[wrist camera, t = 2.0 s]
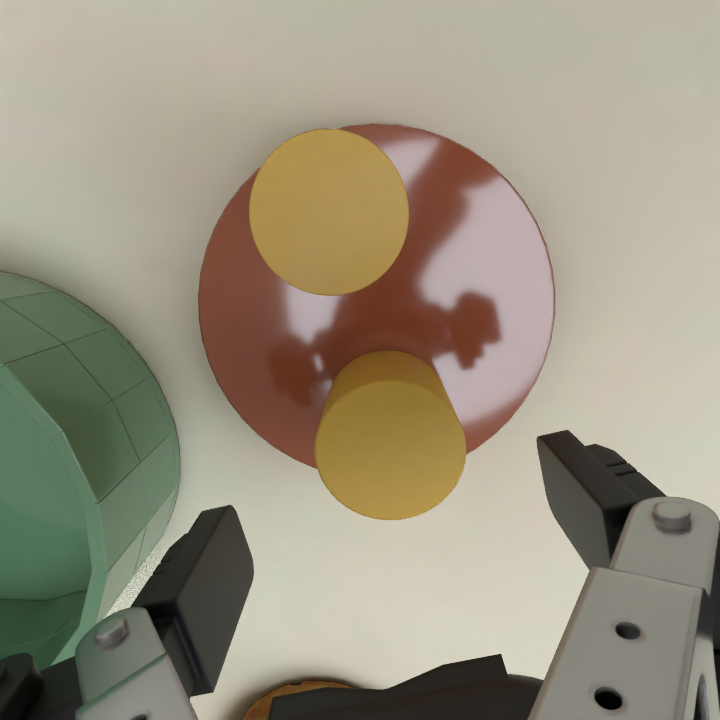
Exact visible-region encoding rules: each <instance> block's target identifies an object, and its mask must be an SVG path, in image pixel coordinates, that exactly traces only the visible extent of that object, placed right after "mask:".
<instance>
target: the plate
mask: <svg viewBox="0 0 720 720" xmlns="http://www.w3.org/2000/svg"><path fill="white" fill-rule="evenodd" d="M338 129H339V130H344V131H349V132H351V133H354V134H357V135H360V136H361V137H363V138H365V139H367V140H369V141H370V142H372V143H373V144H375V145H376V146H377V147H379V148H380V149H381V150H382V151H383V152H384V153H385V154H386V155H387V156H388V158H389V159H390V160H391V161H392V162H393V164H394V165H395V167H396V169H397V170H398V172H399V174H400V176H401V178H402V180H403V183H404V186H405V189H406V193H407V198H408V204H409V221H408V229H407V234H406V238H405V241H404V244H403V246H402V248H401V250H400V253H399V255H398V256H397V258H396V259H395V261H394V263H393V264H392V265H391V266H390V268H389V269H388V270H387V271H386V272H385V273H384V274H383V275H382V276H381V277H380V278H379V279H377V280H376V281H375V282H373V283H372V284H370V285H368V286H367V287H365V288H363V289H361V290H358V291H355V292H352V293H349V294H344V295H336V296H324V295H317V294H311V293H308V292H305V291H302V290H300V289H298V288H295V287H293V286H291V285H290V284H288V283H287V282H285V281H284V280H282V279H281V278H280V277H279V276H278V275H277V274H275V273H274V271H273V270H272V269H271V268H270V267H269V266H268V265H267V263H266V262H265V261H264V259H263V258H262V256H261V254H260V252H259V251H258V249H257V246H256V244H255V241H254V239H253V235H252V231H251V227H250V220H249V203H250V195H251V191H252V187H253V184H254V181H255V178H256V176H257V174H258V172H259V170H260V168H261V167H262V166H261V167H260V168H258V169H257V170H256V171H255V172H254V173H253V174H252V175H251V176H250V177H249V179H248V180H247V181H246V182H245V183H244V184H243V185H242V186H241V187H240V188H239V189H238V191H237V192H236V193H235V195H234V196H233V197H232V199H231V200H230V202H229V203H228V204H227V206H226V207H225V209H224V211H223V213H222V214H221V216H220V218H219V220H218V222H217V224H216V225H215V227H214V230H213V232H212V235H211V238H210V240H209V243H208V245H207V248H206V251H205V256H204V260H203V264H202V268H201V272H200V282H199V292H198V308H199V323H200V329H201V335H202V341H203V345H204V348H205V351H206V355H207V358H208V361H209V364H210V366H211V369H212V371H213V373H214V375H215V378H216V380H217V382H218V384H219V386H220V388H221V389H222V391H223V393H224V394H225V396H226V398H227V399H228V401H229V402H230V404H231V405H232V406H233V408H234V409H235V410H236V411H237V413H238V414H239V415H240V416H241V418H242V419H243V420H244V421H245V422H246V423H247V424H248V425H249V426H250V427H251V428H252V429H253V430H254V431H255V432H256V433H257V434H258V435H259V436H261V437H262V438H263V439H264V440H266V441H267V442H268V443H270V444H271V445H272V446H273V447H275V448H276V449H278V450H280V451H281V452H283V453H285V454H286V455H288V456H290V457H291V458H293V459H295V460H297V461H299V462H302V463H304V464H306V465H308V466H311V467H313V468H316V469H317V465H316V461H315V439H316V434H317V430H318V427H319V424H320V421H321V417H322V414H323V411H324V407H325V404H326V401H327V397H328V394H329V391H330V388H331V386H332V384H333V382H334V380H335V378H336V377H337V375H338V374H339V373H340V371H341V370H342V369H343V368H344V367H345V366H346V365H348V364H349V363H350V362H352V361H353V360H355V359H356V358H358V357H360V356H362V355H365V354H368V353H371V352H375V351H383V350H393V351H400V352H404V353H408V354H411V355H413V356H415V357H417V358H419V359H421V360H422V361H424V362H425V363H426V364H428V365H429V366H430V367H431V368H432V369H433V370H434V371H435V372H436V374H437V375H438V376H439V378H440V379H441V381H442V383H443V385H444V387H445V390H446V392H447V394H448V396H449V399H450V401H451V403H452V405H453V408H454V410H455V412H456V414H457V417H458V419H459V421H460V423H461V426H462V429H463V432H464V436H465V441H466V454H468V453H469V452H471V451H473V450H475V449H476V448H478V447H479V446H480V445H482V444H483V443H484V442H485V441H487V440H488V439H489V438H491V437H492V436H493V435H495V434H496V433H497V432H498V431H499V430H500V429H501V428H502V427H503V426H504V425H505V424H506V423H507V422H508V421H509V420H510V419H511V417H512V416H513V415H514V413H515V412H516V411H517V410H518V408H519V407H520V406H521V405H522V403H523V402H524V401H525V399H526V397H527V395H528V394H529V392H530V390H531V389H532V387H533V385H534V384H535V382H536V380H537V378H538V375H539V373H540V371H541V368H542V366H543V364H544V361H545V358H546V355H547V351H548V348H549V345H550V341H551V337H552V330H553V324H554V317H555V287H554V278H553V270H552V265H551V261H550V257H549V253H548V250H547V246H546V243H545V241H544V238H543V236H542V233H541V231H540V228H539V226H538V224H537V222H536V220H535V218H534V216H533V215H532V213H531V211H530V210H529V208H528V206H527V204H526V203H525V201H524V200H523V199H522V197H521V196H520V195H519V193H518V192H517V191H516V190H515V188H514V187H513V186H512V185H511V183H510V182H509V181H508V180H507V179H506V178H505V177H504V176H503V175H502V174H501V173H500V172H498V171H497V170H496V169H495V168H494V167H493V166H492V165H491V164H490V163H488V162H487V161H486V160H484V159H483V158H481V157H480V156H478V155H477V154H476V153H474V152H473V151H471V150H470V149H468V148H466V147H464V146H462V145H460V144H458V143H456V142H454V141H452V140H451V139H449V138H446V137H443V136H440V135H437V134H435V133H432V132H429V131H426V130H422V129H417V128H412V127H407V126H402V125H390V124H364V125H354V126H346V127H342V128H338Z"/></svg>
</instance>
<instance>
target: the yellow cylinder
mask: <svg viewBox="0 0 720 720" xmlns="http://www.w3.org/2000/svg"><path fill="white" fill-rule="evenodd" d="M249 220H250V227H251V231H252V235H253V239H254V241H255V244H256V246H257V249H258V251H259V252H260V254H261V256H262V258H263V259H264V261H265V262H266V263H267V265H268V266H269V267H270V268H271V269H272V270H273V271H274V273H275V274H277V275H278V276H279V277H280V278H281V279H282V280H284V281H285V282H287V283H288V284H290V285H291V286H293V287H295V288H298V289H300V290H302V291H305V292H308V293H311V294H317V295H324V296H336V295H344V294H349V293H352V292H355V291H358V290H361V289H363V288H365V287H367V286H368V285H370V284H372V283H373V282H375V281H376V280H377V279H379V278H380V277H381V276H382V275H383V274H384V273H385V272H386V271H387V270H388V269H389V268H390V266H391V265H392V264H393V263H394V261H395V259H396V258H397V256H398V255H399V253H400V250H401V248H402V246H403V244H404V241H405V238H406V234H407V229H408V221H409V204H408V198H407V193H406V189H405V186H404V183H403V180H402V178H401V176H400V174H399V172H398V170H397V169H396V167H395V165H394V164H393V162H392V161H391V160H390V159H389V158H388V156H387V155H386V154H385V153H384V152H383V151H382V150H381V149H380V148H379V147H377V146H376V145H375V144H373V143H372V142H370V141H369V140H367V139H365V138H363V137H361V136H360V135H357V134H354V133H351V132H349V131H344V130H339V129H317V130H312V131H308V132H304V133H301V134H299V135H296V136H294V137H292V138H291V139H289V140H287V141H285V142H284V143H283V144H281V145H280V146H279V147H278V148H276V149H275V150H274V151H273V152H272V153H271V154H270V155H269V157H268V158H267V159H266V161H265V162H264V163H263V165H262V167H261V168H260V170H259V172H258V174H257V176H256V178H255V181H254V184H253V187H252V191H251V195H250V203H249Z"/></svg>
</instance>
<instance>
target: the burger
mask: <svg viewBox="0 0 720 720" xmlns="http://www.w3.org/2000/svg"><path fill="white" fill-rule="evenodd" d="M324 687H338V688H352V687H349V686H347V685H343V684H339V683H334V682H326V681H303V682H302V683H301V684H300V685H290V684H288V685H285V686H283V687H281V688H278V689H276V690H274V691H272V692H270V693H268V694H267V695H265V696H264V697H262V698H261V699H259V700H258V701H257V702H255V703H254V704H253V705H252V706H251V707H250V708H249V709H248V711H247V712H246V714H245V716H244V718H243V720H268V716H269V711H270V707H271V702H272V698H273V697H276V696H281V695H287V694H292V693H297V692H303V691H308V690H313V689H318V688H324Z"/></svg>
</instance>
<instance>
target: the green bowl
mask: <svg viewBox="0 0 720 720" xmlns="http://www.w3.org/2000/svg"><path fill="white" fill-rule="evenodd" d="M179 475H180V460H179V446H178V441H177V435H176V430H175V425H174V422H173V419H172V416H171V413H170V410H169V407H168V404H167V402H166V400H165V398H164V396H163V393H162V391H161V389H160V387H159V385H158V383H157V381H156V380H155V378H154V377H153V375H152V373H151V372H150V370H149V369H148V367H147V365H146V364H145V362H144V361H143V360H142V358H141V357H140V356H139V355H138V354H137V352H136V351H135V350H134V349H133V347H132V346H131V345H130V344H129V342H128V341H127V340H126V339H125V338H124V337H123V336H121V335H120V334H119V333H118V332H117V331H116V330H115V329H114V328H113V327H112V326H111V325H110V324H109V323H108V322H107V321H105V320H104V319H103V318H101V317H100V316H99V315H98V314H96V313H95V312H94V311H92V310H91V309H90V308H88V307H87V306H85V305H83V304H82V303H80V302H79V301H77V300H75V299H74V298H72V297H70V296H69V295H67V294H65V293H63V292H61V291H59V290H56V289H54V288H52V287H50V286H48V285H45V284H43V283H41V282H38V281H35V280H32V279H28V278H25V277H22V276H19V275H16V274H10V273H5V272H0V659H2V658H5V657H7V656H10V655H13V654H17V653H29V654H30V655H31V656H32V657H33V659H34V661H35V663H36V665H37V667H38V669H39V671H40V670H43V669H45V668H47V667H50V666H52V665H54V664H57V663H59V662H61V661H64V660H66V659H68V658H71V657H73V656H75V649H76V647H77V645H78V643H79V641H80V640H81V638H82V637H83V636H84V635H85V634H86V633H87V632H88V631H89V630H90V629H91V628H92V627H93V626H95V625H96V624H97V623H99V622H100V621H101V620H103V618H104V617H105V616H106V614H107V613H108V611H109V610H110V609H111V607H112V606H113V604H114V603H115V602H116V600H117V599H118V597H119V596H120V595H121V593H122V592H123V590H124V589H125V588H126V586H127V585H128V583H129V582H130V580H131V579H132V578H133V576H134V575H135V573H136V572H137V571H138V569H139V568H140V566H141V565H142V564H143V562H144V561H145V559H146V558H147V557H148V555H149V554H150V552H151V551H152V550H153V548H154V547H155V545H156V544H157V543H158V541H159V540H160V538H161V537H162V536H163V533H164V530H165V528H166V526H167V524H168V521H169V519H170V517H171V514H172V512H173V509H174V505H175V501H176V497H177V493H178V485H179Z"/></svg>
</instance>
